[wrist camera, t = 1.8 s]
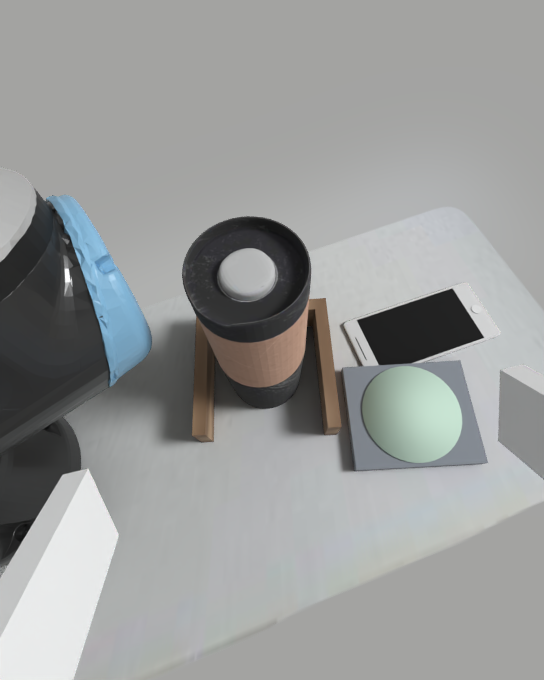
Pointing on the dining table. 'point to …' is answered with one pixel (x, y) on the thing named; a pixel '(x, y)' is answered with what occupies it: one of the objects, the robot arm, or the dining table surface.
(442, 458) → the dock pad
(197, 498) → the dining table surface
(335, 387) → the mug cradle
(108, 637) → the dining table surface
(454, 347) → the smartphone
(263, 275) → the travel mug
